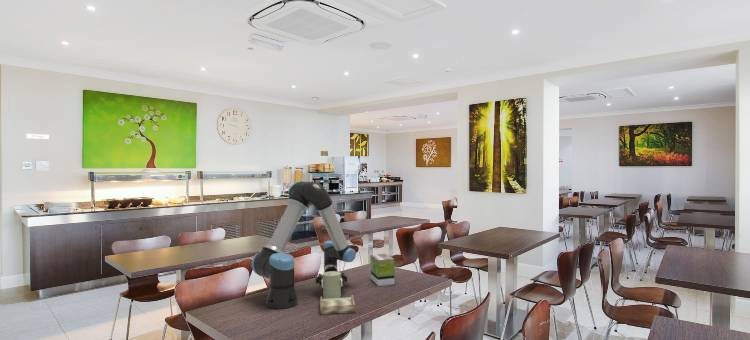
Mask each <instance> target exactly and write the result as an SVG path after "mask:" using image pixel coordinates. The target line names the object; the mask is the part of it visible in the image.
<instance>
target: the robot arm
mask: <svg viewBox="0 0 750 340" xmlns="http://www.w3.org/2000/svg"><path fill="white" fill-rule="evenodd" d="M287 195H288V199H287V202H288V204H287V207H286V208H285V210H284V213H283V214H282V216H281V218H280V220H279V223H278V224H277V226H276V228H275V230H274V232H273V234H272V236H271V237H270V240H269V241H268V244H266V245H264V246H263V247H262V248H261V250H260V251H259V252H257V253H255V255H254V256H253V257H252V259H251V268H252V270H253V272H254V273H255V274H256V275H258V276H259V277H261V278H262V277H264V278H266V279H269V290H268V294H267V297H266V301H265V302H266V303H265V304H266V305H267V306H268V308H269V307H270V308H269V309H274V308H275V310H276V309H279V310H281V309H288V308H292V307H294V306H297V305H298V304H299V296H298V293H297V290H296V286H295V265H296V263H295V257H294V256H293V255H291V254H290V253H286V252H285V253H284V250H285V249H286V247H287V245H288V243H289V240H290V239H291V237H292V234H293V233H294V230H295V228H296V227H297V225H298V223H299V220H300V218H301V217H302V214H303V212H304V211H306V210H308V208H309V207H310V206H311V205H312V206H313V207H314V209H315V211H316V212H318V213H319V215H320V217H321V220H322V222H323V224H324V227H325V229H326V232H327V234H328V235H329V238H330V240H326V241H324V243H323V259H324V260H323V271H324V272H323V273H325V272H329V271H337V272H339V270H338V261H340V262H344V263H351V262H352V263H353V262H354V260H355V259H356V255H357V254H356V251H355V249H354V248H351V247H350V246H349V243H348V240H347V238H346V237H345V236H346V235H345V233H344V231H343V229H342V227H341V224H340V222H339V220H338V216H337V214H336V213H335V210H334V208H333V206H332V205H333V200H332V197H331V196H330V194H329V192H328V191H327V190H326V188H325V187H324V186H323V185H322V184H321V183H319V182H317V181H305V180H304V181H302V180H299V181H295V182H293V183H292V184H291V185H290V187H288V192H287ZM323 273H318V275H317V277H316V278H315V284H319V286H321V288H322V289H323ZM340 273H341V272H340ZM345 283H348V276H347V275H345V272H342V273H341V287H343V284H345ZM267 306H266V307H267Z"/></svg>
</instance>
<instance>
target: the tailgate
mask: <svg viewBox="0 0 750 340" xmlns="http://www.w3.org/2000/svg"><path fill="white" fill-rule="evenodd" d="M350 299H351V296H348V297H339V298H328V299H327V298H322V301H332V300H350Z"/></svg>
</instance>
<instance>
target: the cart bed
mask: <svg viewBox="0 0 750 340" xmlns="http://www.w3.org/2000/svg"><path fill="white" fill-rule="evenodd" d="M350 297H351V299H350V300H332V301H322V299H323V295H322V296H320V301H319V302H320V303H319V304H320V306H319V307H320V309H319V310H320V311H319V312H320V314H322V315H335V314H337V315H338V314H340V315H341V314H351V313H352V314H355V313H356V303H355V299H354V295H353V294H351V295H350Z"/></svg>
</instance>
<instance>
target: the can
mask: <svg viewBox="0 0 750 340" xmlns="http://www.w3.org/2000/svg"><path fill="white" fill-rule="evenodd" d="M322 275H323V288H322V289H323V290H322V293H323V294H322V298H323V299H328V298H342V297H341V296H342V291H341V290H342V289H341V272H340V271H338V272H337V271H329V272H325V273H324V272H323V273H322Z"/></svg>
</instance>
